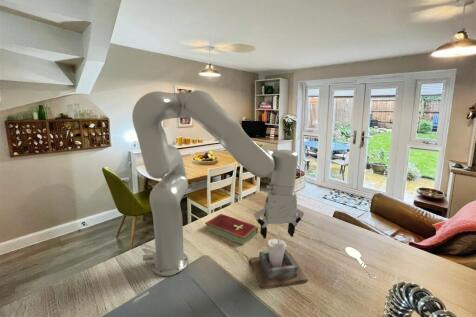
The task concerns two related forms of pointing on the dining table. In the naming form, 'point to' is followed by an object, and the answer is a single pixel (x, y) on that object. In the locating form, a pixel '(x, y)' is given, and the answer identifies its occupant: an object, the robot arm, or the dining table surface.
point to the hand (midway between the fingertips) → (277, 235)
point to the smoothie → (276, 251)
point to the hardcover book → (231, 228)
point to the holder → (277, 271)
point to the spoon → (355, 255)
